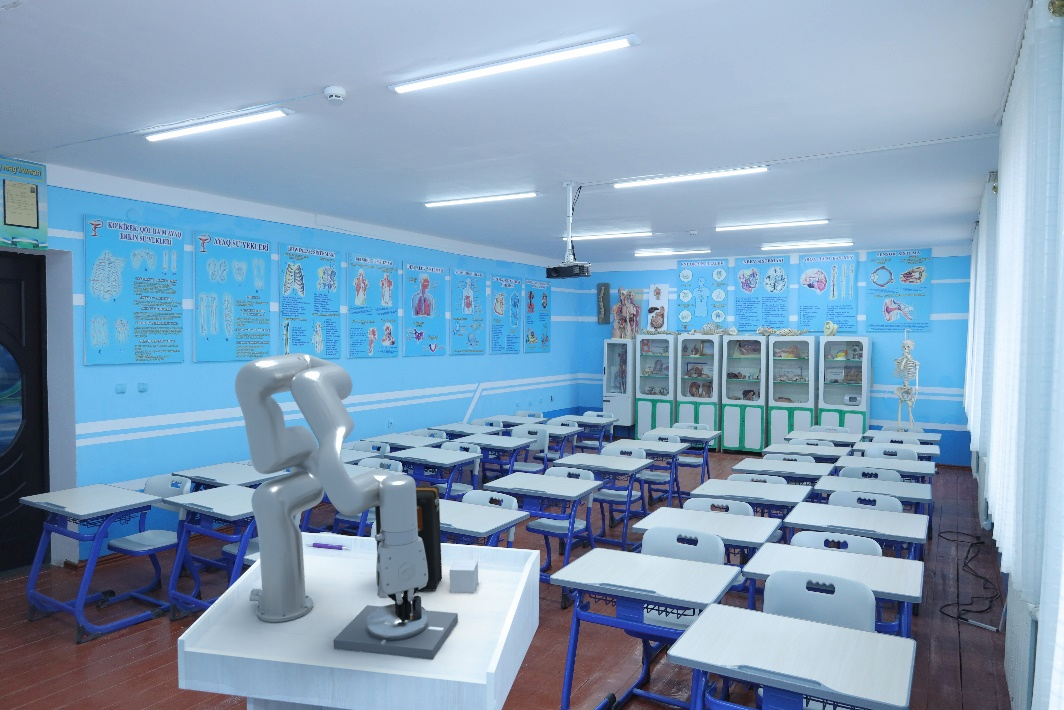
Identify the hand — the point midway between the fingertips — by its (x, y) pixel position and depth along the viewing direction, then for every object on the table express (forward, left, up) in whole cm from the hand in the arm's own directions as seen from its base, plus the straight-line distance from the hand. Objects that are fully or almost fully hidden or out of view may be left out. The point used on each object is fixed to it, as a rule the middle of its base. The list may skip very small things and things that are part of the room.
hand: (403, 618), depth 151 cm
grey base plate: (-3, +3, -5) cm, 6 cm away
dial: (-3, +3, -3) cm, 5 cm away
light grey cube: (+4, +28, -6) cm, 29 cm away
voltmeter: (-10, +27, -6) cm, 29 cm away
